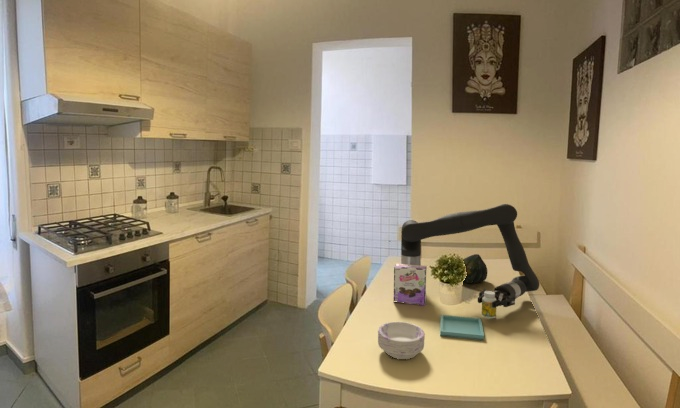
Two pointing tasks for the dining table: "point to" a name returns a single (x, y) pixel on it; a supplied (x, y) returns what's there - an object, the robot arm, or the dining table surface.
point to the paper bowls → (401, 339)
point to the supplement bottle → (488, 305)
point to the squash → (475, 269)
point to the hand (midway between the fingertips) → (485, 302)
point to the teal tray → (461, 327)
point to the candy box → (410, 283)
